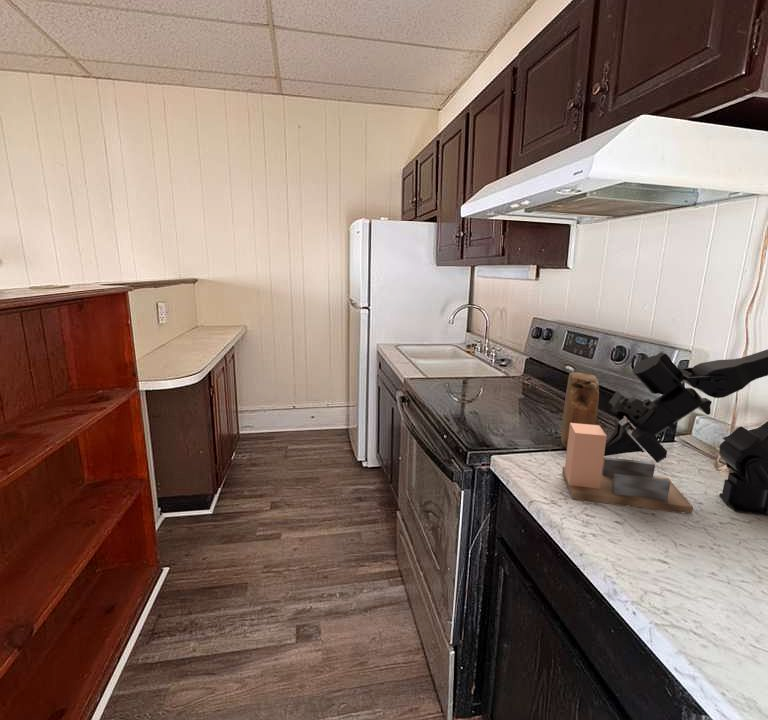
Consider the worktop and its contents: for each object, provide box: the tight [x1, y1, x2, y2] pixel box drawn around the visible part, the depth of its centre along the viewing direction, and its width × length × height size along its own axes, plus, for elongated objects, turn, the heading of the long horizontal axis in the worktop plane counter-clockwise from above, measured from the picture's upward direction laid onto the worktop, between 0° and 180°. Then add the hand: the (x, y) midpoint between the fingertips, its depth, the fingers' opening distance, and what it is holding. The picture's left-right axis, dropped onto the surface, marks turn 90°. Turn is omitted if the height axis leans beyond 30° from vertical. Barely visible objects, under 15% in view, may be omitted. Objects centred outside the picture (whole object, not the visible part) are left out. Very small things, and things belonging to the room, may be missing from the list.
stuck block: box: [564, 423, 607, 489], centre depth 91 cm, size 6×6×12 cm
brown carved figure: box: [560, 371, 600, 450], centre depth 111 cm, size 11×8×20 cm
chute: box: [562, 456, 694, 514], centre depth 90 cm, size 22×12×6 cm, turn 77°
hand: (601, 453), depth 90 cm, fingers closed, pressing on stuck block
